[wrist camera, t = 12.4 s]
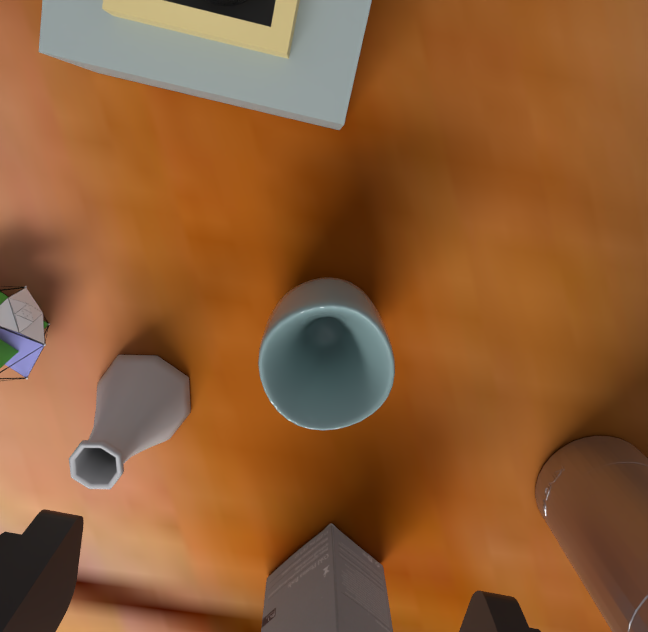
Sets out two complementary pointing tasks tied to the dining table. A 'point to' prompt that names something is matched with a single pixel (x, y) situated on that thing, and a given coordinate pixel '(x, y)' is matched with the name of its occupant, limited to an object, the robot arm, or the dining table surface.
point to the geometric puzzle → (20, 331)
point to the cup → (326, 355)
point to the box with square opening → (220, 49)
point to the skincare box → (327, 589)
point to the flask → (130, 416)
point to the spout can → (225, 2)
